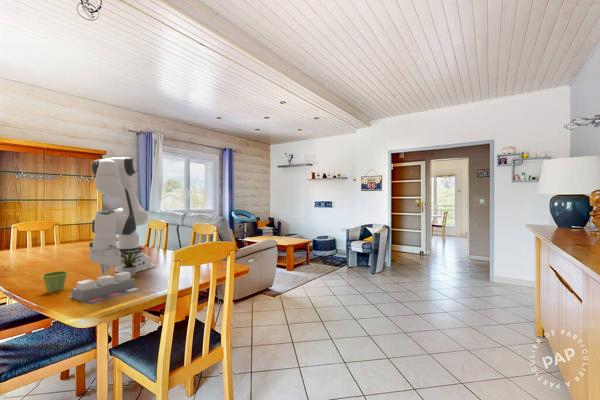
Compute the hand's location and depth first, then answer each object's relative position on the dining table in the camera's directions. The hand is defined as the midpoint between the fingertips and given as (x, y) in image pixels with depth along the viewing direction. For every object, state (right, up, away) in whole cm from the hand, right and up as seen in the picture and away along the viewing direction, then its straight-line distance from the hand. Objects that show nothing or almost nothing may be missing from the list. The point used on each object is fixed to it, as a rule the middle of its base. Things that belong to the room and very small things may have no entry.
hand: (104, 273), depth 132 cm
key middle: (0, -7, 0) cm, 7 cm away
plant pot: (-26, -10, +3) cm, 28 cm away
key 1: (-4, -7, -7) cm, 10 cm away
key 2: (+4, -7, +7) cm, 11 cm away
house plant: (-5, -10, +27) cm, 29 cm away
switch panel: (+2, -10, -1) cm, 10 cm away
